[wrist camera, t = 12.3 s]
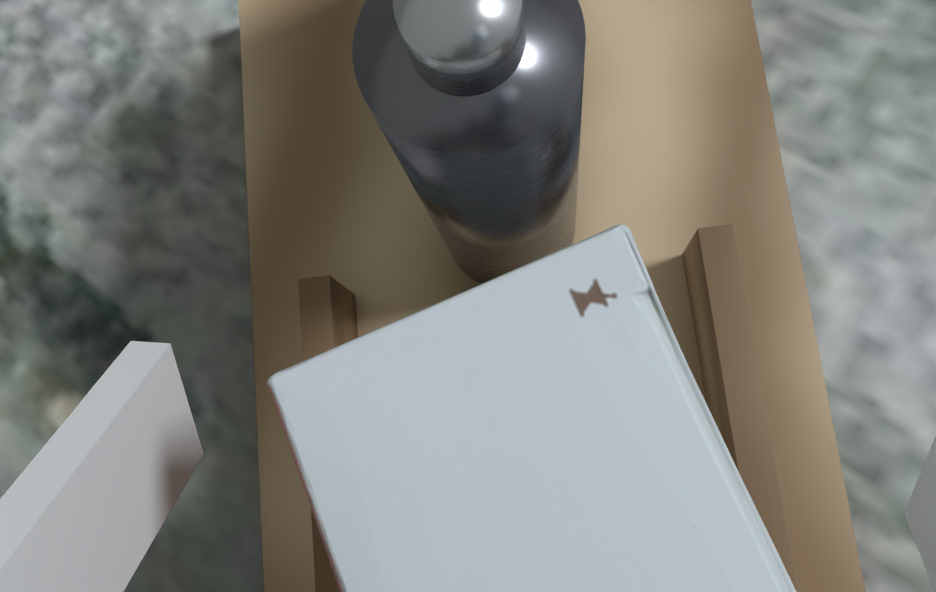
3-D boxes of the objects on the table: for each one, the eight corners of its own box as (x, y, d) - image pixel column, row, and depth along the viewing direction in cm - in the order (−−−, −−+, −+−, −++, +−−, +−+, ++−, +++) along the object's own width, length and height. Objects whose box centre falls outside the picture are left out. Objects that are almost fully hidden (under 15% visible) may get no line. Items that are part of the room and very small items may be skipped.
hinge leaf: (538, -55, 23) (517, -501, 12) (583, 281, 21) (605, 98, 10) (419, -35, 24) (297, -452, 13) (451, 297, 22) (338, 137, 11)
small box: (401, 406, 21) (249, 363, 11) (594, 325, 21) (624, 203, 11) (516, 710, 19) (465, 1000, 9) (728, 624, 19) (920, 822, 9)
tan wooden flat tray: (723, -54, 24) (754, -152, 20) (885, 805, 19) (967, 894, 15) (257, 20, 26) (202, -57, 22) (296, 839, 21) (234, 929, 17)
